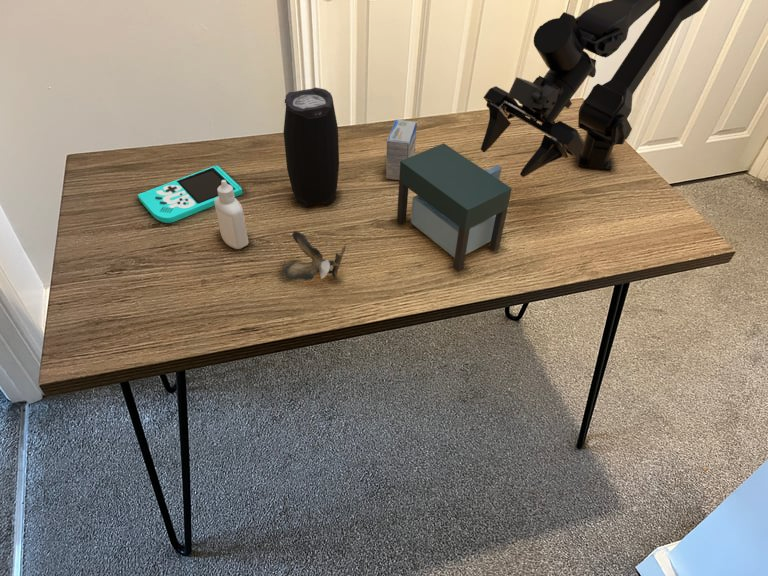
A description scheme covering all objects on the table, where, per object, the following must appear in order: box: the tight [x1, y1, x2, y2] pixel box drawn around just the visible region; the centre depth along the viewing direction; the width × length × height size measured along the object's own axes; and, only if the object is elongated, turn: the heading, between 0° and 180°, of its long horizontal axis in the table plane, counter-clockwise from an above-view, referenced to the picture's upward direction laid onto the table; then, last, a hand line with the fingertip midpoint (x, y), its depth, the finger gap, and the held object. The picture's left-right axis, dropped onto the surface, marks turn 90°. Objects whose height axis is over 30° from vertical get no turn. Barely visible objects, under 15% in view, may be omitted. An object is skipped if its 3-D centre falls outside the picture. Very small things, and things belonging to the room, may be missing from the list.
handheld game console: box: [137, 165, 244, 224], centre depth 109 cm, size 10×16×1 cm, turn 129°
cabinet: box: [396, 143, 513, 272], centre depth 99 cm, size 10×16×12 cm, turn 38°
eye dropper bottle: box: [214, 180, 250, 250], centre depth 97 cm, size 4×6×12 cm
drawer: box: [410, 165, 502, 258], centre depth 102 cm, size 14×12×10 cm
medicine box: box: [385, 119, 418, 181], centre depth 114 cm, size 8×4×9 cm, turn 168°
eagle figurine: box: [283, 230, 347, 281], centre depth 94 cm, size 8×7×9 cm
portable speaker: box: [283, 87, 340, 208], centre depth 103 cm, size 9×9×20 cm
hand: (501, 163), depth 101 cm, fingers open, 9 cm apart
